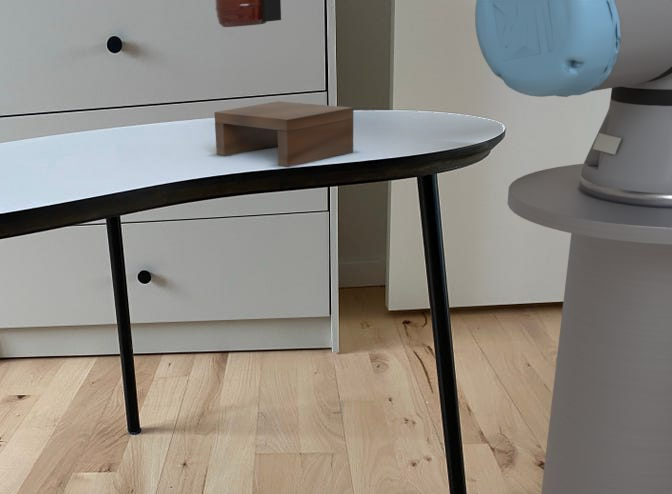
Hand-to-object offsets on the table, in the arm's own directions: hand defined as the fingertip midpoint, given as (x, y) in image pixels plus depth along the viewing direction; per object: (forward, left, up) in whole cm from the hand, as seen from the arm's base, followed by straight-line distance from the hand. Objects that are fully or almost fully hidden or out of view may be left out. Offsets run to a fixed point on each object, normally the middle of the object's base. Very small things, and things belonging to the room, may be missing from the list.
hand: (252, 21), depth 114 cm
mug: (-1, 0, -1) cm, 1 cm away
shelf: (-20, +12, -14) cm, 28 cm away
